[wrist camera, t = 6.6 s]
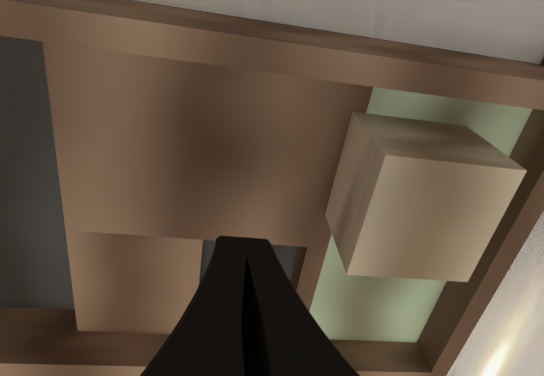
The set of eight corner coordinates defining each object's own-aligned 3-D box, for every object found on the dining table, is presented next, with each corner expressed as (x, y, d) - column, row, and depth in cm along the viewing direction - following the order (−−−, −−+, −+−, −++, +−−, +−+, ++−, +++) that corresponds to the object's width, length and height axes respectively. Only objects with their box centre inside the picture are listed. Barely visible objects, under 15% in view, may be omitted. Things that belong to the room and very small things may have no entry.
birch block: (466, 125, 17) (527, 170, 13) (425, 223, 19) (467, 282, 16) (352, 111, 16) (385, 155, 13) (324, 214, 18) (346, 274, 15)
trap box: (539, 64, 18) (613, 91, 14) (413, 327, 26) (440, 384, 23) (-126, -40, 14) (-246, -38, 10) (-24, 309, 22) (-72, 375, 19)
